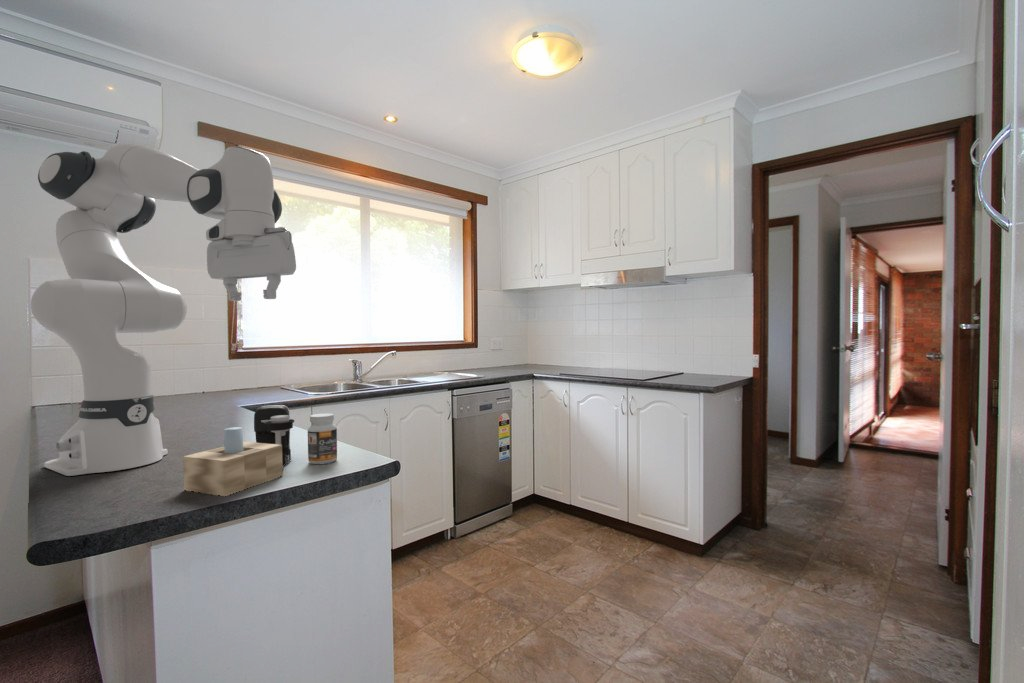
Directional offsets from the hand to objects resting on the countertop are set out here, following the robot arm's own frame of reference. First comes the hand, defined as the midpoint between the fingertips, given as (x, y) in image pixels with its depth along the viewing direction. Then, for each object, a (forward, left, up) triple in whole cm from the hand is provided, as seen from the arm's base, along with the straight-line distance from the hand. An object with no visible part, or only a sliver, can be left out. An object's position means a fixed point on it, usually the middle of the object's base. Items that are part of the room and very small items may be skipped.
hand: (252, 299), depth 96 cm
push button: (+2, +4, -34) cm, 35 cm away
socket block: (+4, -8, -34) cm, 35 cm away
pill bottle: (+9, +9, -34) cm, 36 cm away
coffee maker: (-4, +8, -34) cm, 35 cm away
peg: (+4, -8, -34) cm, 35 cm away
